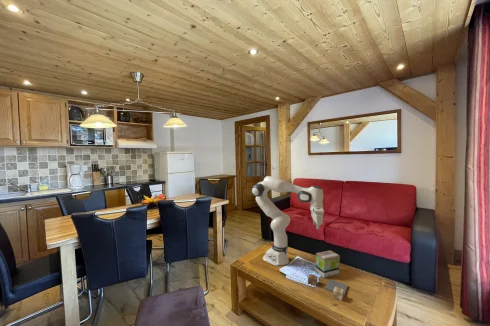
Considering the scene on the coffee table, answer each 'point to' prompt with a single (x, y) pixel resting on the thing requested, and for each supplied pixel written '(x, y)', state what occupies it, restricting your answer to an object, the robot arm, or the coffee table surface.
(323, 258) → the tea box
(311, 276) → the walnut cube
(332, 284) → the slate coaster
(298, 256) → the coffee table surface
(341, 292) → the maple cube
